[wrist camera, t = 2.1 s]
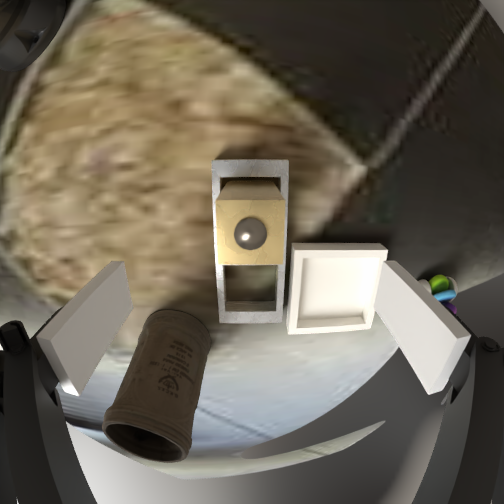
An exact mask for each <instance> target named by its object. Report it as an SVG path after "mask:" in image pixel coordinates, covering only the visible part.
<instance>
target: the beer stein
mask: <svg viewBox="0 0 504 504" xmlns="http://www.w3.org/2000/svg"><path fill="white" fill-rule="evenodd" d="M210 346H211V339H210V335H209V333H208V331H207V329H206V328H205V326H204V325H203V324H202V323H201V322H200V321H199V320H197V319H196V318H195V317H193V316H191V315H189V314H187V313H184V312H180V311H175V310H162V311H158V312H156V313H154V314H152V315H151V316H150V317H148V318H147V320H146V322H145V324H144V326H143V331H142V332H141V334H140V336H139V338H138V345H137V347H136V350H135V352H134V355H133V357H132V360H131V362H130V365H129V367H128V370H127V372H126V374H125V376H124V379H123V381H122V383H121V386H120V388H119V391H118V393H117V395H116V398H115V400H114V403H113V405H112V406H111V407H109V408H108V409H107V410H106V412H105V415H104V421H103V425H102V429H103V432H104V434H105V435H106V437H107V438H108V439H109V440H110V441H111V442H113V443H114V444H115V445H117V446H118V447H120V448H121V449H123V450H125V451H127V452H128V453H131V454H133V455H135V456H138V457H141V458H144V459H147V460H151V461H157V462H164V463H173V462H179V461H182V460H184V459H185V458H186V457H187V455H188V452H189V449H190V448H191V445H192V438H191V435H192V427H193V420H194V413H195V410H196V408H197V404H198V400H199V396H200V390H201V384H202V379H203V374H204V369H205V365H206V361H207V355H208V353H209V350H210Z"/></svg>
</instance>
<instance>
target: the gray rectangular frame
mask: <svg viewBox="0 0 504 504" xmlns="http://www.w3.org/2000/svg"><path fill="white" fill-rule="evenodd" d="M222 177H278V190H279V191H280V193H281V194H282V196H283V197H284V199H285V229H284V253H283V264H269V265H276V282H275V301H227V300H226V280H225V265H218V252H217V230H216V203H215V200H216V199H217V197H218V196H219V194H220V193H221V191H222ZM288 178H289V160H286V159H219V160H212V193H213V220H214V242H215V261H216V278H217V293H218V308H219V321H220V323H282V312H283V297H284V280H285V261H286V239H287V213H288Z"/></svg>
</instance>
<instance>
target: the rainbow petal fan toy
mask: <svg viewBox="0 0 504 504" xmlns="http://www.w3.org/2000/svg"><path fill="white" fill-rule="evenodd" d="M418 282H419V283H420V284H421V285H422V286H423V287H424V288H425V289H427V290H428V291H429V292H430V293H431V294H432V295H433V296H434V297H435V298H436V299H437V300H438V301H439V302H440V303H441V304H443V305H445V306H446V307H448V308H450V309H451V310H452V311H453V312H454V313H455V314H456V311H457V310H456V307H455V306H454V305H452V304H451V303H449V302H450V301H452V300H453V299H454V298H455V296H456V295H457V291H458V287H457V283H456V281H455V280H454V279H453V278H451V277H445V276H443V275H436V276H434V277H433V278H432V279H431V280H429V282H428V281H426V280H424V279H422V280H419V281H418Z"/></svg>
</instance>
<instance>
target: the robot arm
mask: <svg viewBox="0 0 504 504" xmlns="http://www.w3.org/2000/svg"><path fill="white" fill-rule="evenodd" d="M65 9H66V0H0V68H1V69H2V70H6V71H12V72H15V71H19V70H22V69H24V68H25V67H27V66H28V65H30V64H31V63H32V62H33V61H34V60H35V59H36V58H37V57H38V56H39V55H40V54H41V53H42V52H43V51H44V49H45V48H46V47H47V46H48V44H49V43H50V41H51V40H52V38H53V37H54V35H55V34H56V32H57V30H58V28H59V26H60V24H61V22H62V20H63V17H64V14H65ZM373 308H374V309H375V310H376V312H377V313H378V315H379V316H380V318H381V319H382V321H383V322H384V324H385V325H386V327H387V328H388V330H389V331H390V333H391V335H392V336H393V338H394V339H395V341H396V342H397V344H398V345H399V347H400V349H401V350H402V352H403V353H404V355H405V357H406V358H407V360H408V361H409V363H410V365H411V366H412V368H413V370H414V371H415V373H416V375H417V376H418V378H419V380H420V381H421V383H422V385H423V387H424V388H425V390H426V392H427V393H428V395H429V394H432V393H435V392H438V391H441V390H443V388H444V387H445V385H446V383H447V381H448V380H450V382H451V383H452V386H451V388H450V390H449V391H448V393H447V395H446V396H445V398H444V399H443V401H442V403H441V404H444V402H445V401H446V400H447V403H446V407H445V411H444V415H443V420H442V423H441V427H440V431H439V434H438V438H437V441H436V444H435V447H434V450H433V453H432V456H431V459H430V462H429V464H428V467H427V470H426V472H425V475H424V477H423V480H422V482H421V485H420V487H419V489H418V491H417V494H416V496H415V498H414V500H413V502H412V504H491V500H492V504H504V348H501V347H500V346H499V344H498V343H497V342H495V341H494V340H493V339H491V338H488V337H479V338H478V337H477V336H476V335H475V334H474V333H473V332H472V331H471V330H470V329H469V328H468V327H467V326H466V325H465V324H464V323H463V322H461V319H459V317H458V316H456V314H455V313H454V312H453V311H452V310H451V309H450V308H448V307H446V306H445V305H443V304H441V303H440V302H439V301H438V300H437V299H436V298H435V297H434V296H433V295H432V294H431V293H430V292H429V291H428V290H427V289H425V288H424V287H423V286H422V285H421V284H420V283H419V282H418V281H417V280H416V279H415V278H414V277H413V276H412V275H411V274H409V273H408V272H407V271H406V270H405V269H404V268H403V267H402V266H401V265H399V264H398V263H397V262H396V261H383V263H382V269H381V274H380V279H379V284H378V289H377V293H376V298H375V302H374V306H373ZM132 309H133V304H132V299H131V295H130V290H129V285H128V281H127V276H126V270H125V265H124V261H111V262H110V263H109V264H108V265H107V266H106V267H104V268H103V269H102V270H101V271H100V272H99V273H98V274H97V275H96V276H95V277H94V278H93V279H92V280H91V281H90V282H88V283H87V284H86V285H85V286H84V287H83V288H82V289H81V290H80V291H79V292H78V293H77V294H76V295H75V296H74V297H73V298H72V299H71V300H70V301H69V302H68V303H67V304H66V305H65V306H64V307H62V308H60V309H59V310H57V311H56V312H55V313H54V314H53V315H52V316H51V318H49V319H48V320H47V321H46V324H44V325H43V326H42V327H41V328H40V329H39V330H38V331H37V332H36V333H35V334H34V336H33V337H32V338H31V339H29V337H28V335H27V332H26V330H25V328H24V325H23V323H22V322H20V321H16V320H15V321H10V322H8V323H5V324H4V325H3V326H1V327H0V344H1V346H2V348H3V350H0V504H17V500H18V503H19V504H97V502H96V500H95V498H94V496H93V494H92V492H91V489H90V487H89V485H88V483H87V481H86V478H85V476H84V474H83V471H82V469H81V466H80V463H79V461H78V458H77V455H76V453H75V450H74V447H73V444H72V441H71V438H70V435H69V432H68V428H67V424H66V421H65V417H64V413H63V409H62V405H61V401H60V397H59V393H58V391H57V389H56V388H55V387H56V386H57V384H58V382H60V384H61V386H62V388H63V389H64V391H65V392H67V393H70V394H73V395H77V396H80V395H81V393H82V391H83V389H84V388H85V386H86V384H87V382H88V381H89V379H90V377H91V375H92V374H93V372H94V370H95V369H96V367H97V365H98V363H99V362H100V360H101V358H102V357H103V355H104V353H105V352H106V350H107V349H108V347H109V345H110V344H111V342H112V340H113V339H114V337H115V336H116V334H117V332H118V331H119V329H120V328H121V326H122V325H123V323H124V322H125V320H126V318H127V317H128V315H129V314H130V312H131V311H132Z"/></svg>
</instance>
